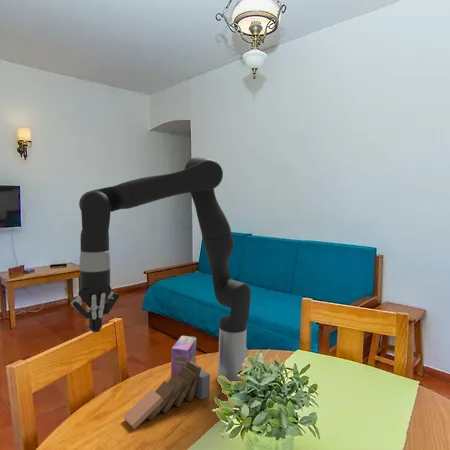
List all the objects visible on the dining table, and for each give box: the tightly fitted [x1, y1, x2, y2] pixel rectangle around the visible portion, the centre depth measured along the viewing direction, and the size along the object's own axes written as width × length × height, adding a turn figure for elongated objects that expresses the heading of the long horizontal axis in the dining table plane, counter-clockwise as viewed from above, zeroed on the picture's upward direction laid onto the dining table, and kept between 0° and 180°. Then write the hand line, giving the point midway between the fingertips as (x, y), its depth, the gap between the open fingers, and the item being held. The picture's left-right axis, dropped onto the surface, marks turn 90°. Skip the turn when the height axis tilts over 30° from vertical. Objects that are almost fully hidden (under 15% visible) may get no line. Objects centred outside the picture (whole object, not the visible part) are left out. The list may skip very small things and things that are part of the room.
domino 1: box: [146, 380, 177, 422], centre depth 101 cm, size 2×5×10 cm
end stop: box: [194, 369, 211, 401], centre depth 111 cm, size 3×8×7 cm, turn 44°
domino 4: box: [184, 361, 202, 402], centre depth 109 cm, size 2×5×10 cm, turn 44°
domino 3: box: [173, 366, 196, 408], centre depth 107 cm, size 2×5×10 cm
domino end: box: [122, 389, 163, 430], centre depth 98 cm, size 2×5×10 cm
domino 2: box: [160, 373, 188, 414], centre depth 104 cm, size 2×5×10 cm
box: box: [170, 335, 197, 379], centre depth 121 cm, size 10×6×12 cm, turn 168°
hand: (95, 331), depth 95 cm, fingers closed
